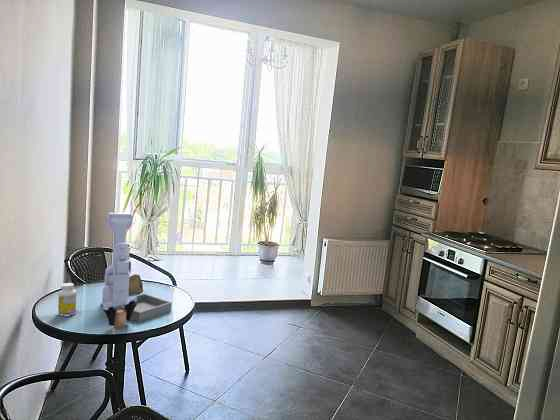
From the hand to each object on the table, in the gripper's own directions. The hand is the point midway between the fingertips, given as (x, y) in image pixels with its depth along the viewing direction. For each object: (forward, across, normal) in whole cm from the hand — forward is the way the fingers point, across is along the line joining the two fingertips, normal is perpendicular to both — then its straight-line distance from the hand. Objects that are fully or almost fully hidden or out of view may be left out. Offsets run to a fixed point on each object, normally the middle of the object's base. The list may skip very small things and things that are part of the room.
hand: (119, 322), depth 166 cm
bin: (+2, +17, +7) cm, 18 cm away
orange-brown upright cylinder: (+2, 0, 0) cm, 2 cm away
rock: (+2, +31, +31) cm, 44 cm away
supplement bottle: (+2, -6, +26) cm, 27 cm away
